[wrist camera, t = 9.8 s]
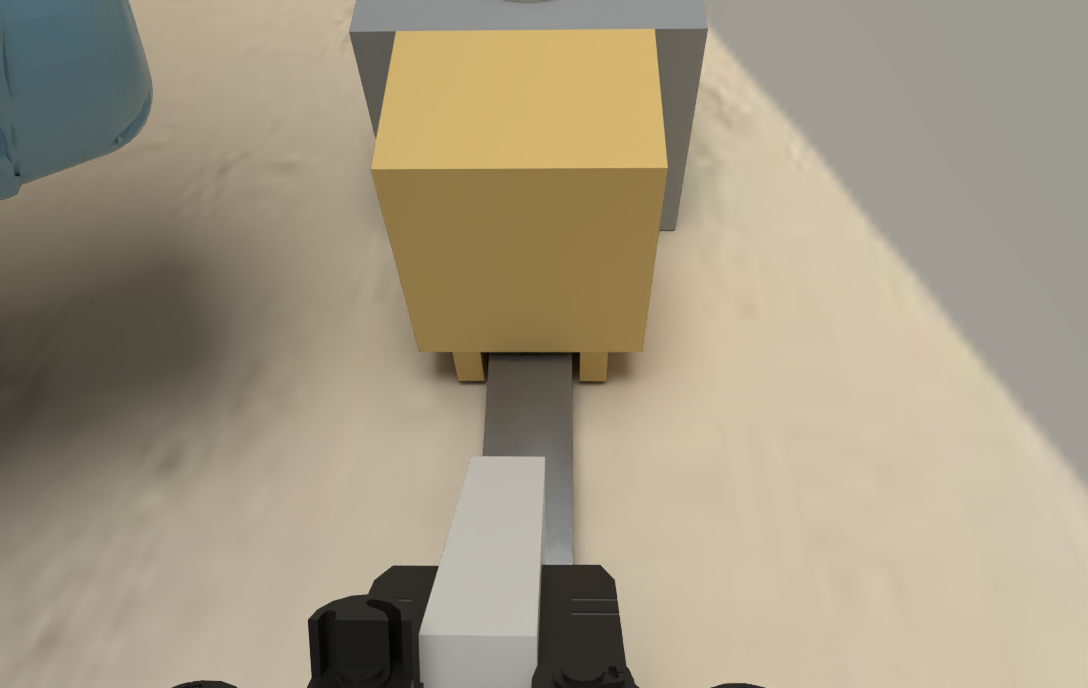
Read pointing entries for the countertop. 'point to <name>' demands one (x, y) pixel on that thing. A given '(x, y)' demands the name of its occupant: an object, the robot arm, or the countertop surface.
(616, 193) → the carriage
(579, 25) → the gauge cabinet
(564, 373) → the rail
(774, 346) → the countertop surface
